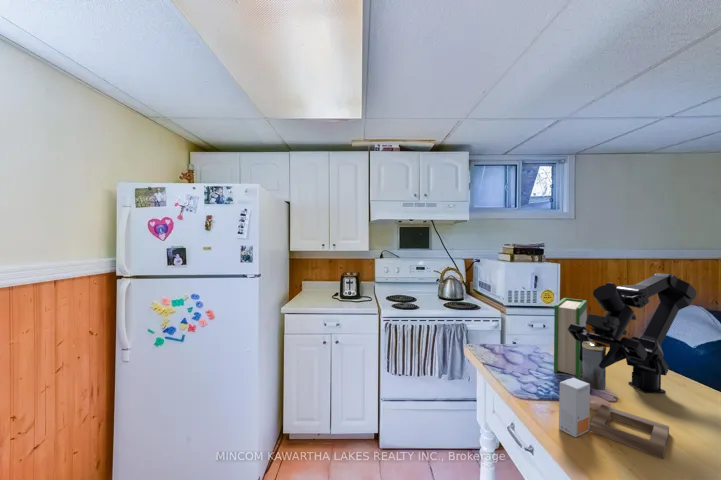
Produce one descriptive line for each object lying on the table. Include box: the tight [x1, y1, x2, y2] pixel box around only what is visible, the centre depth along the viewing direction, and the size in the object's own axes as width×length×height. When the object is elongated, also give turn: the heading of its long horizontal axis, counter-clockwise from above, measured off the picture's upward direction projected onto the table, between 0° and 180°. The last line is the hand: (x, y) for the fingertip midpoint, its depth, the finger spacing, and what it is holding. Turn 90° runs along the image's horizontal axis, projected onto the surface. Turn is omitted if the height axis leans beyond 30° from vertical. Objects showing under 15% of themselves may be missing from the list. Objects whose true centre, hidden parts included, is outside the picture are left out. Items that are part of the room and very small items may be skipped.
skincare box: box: [558, 377, 591, 438], centre depth 79 cm, size 6×4×12 cm
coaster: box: [589, 394, 612, 412], centre depth 91 cm, size 8×8×1 cm
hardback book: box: [553, 297, 588, 379], centre depth 116 cm, size 18×7×24 cm, turn 138°
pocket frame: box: [588, 405, 670, 460], centre depth 78 cm, size 13×13×2 cm
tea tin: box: [581, 340, 607, 391], centre depth 91 cm, size 6×6×12 cm
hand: (590, 363), depth 91 cm, fingers closed on tea tin, 5 cm apart
